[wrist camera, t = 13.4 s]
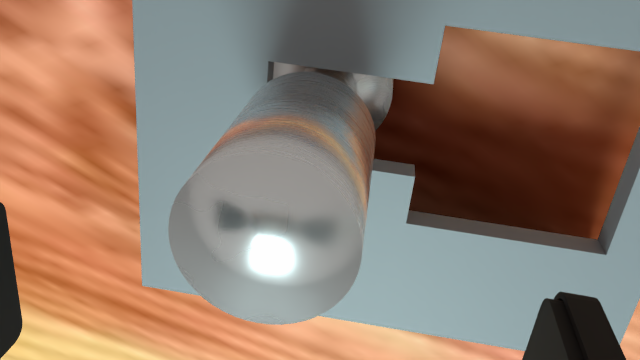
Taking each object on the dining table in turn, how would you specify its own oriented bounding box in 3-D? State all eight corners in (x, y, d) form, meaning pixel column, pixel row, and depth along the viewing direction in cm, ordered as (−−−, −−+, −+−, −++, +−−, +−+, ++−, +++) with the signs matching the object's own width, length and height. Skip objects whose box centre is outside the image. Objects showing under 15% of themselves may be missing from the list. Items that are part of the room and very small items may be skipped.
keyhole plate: (721, -112, 19) (817, -115, 15) (575, 286, 26) (610, 365, 22) (186, -172, 20) (125, -192, 16) (185, 222, 27) (142, 285, 23)
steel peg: (403, 22, 22) (401, 155, 11) (383, 138, 24) (364, 355, 13) (279, 5, 23) (146, 117, 11) (270, 122, 25) (151, 318, 13)
